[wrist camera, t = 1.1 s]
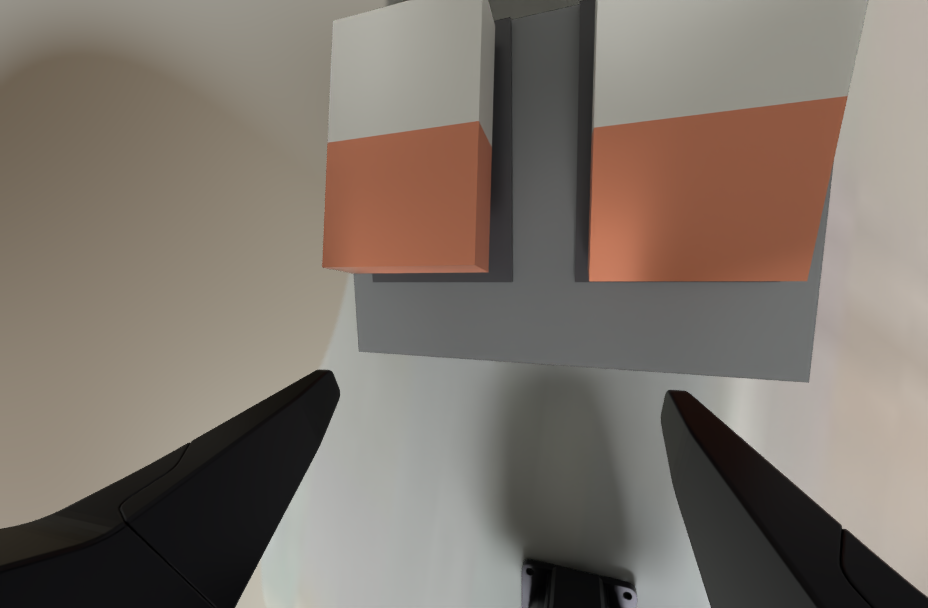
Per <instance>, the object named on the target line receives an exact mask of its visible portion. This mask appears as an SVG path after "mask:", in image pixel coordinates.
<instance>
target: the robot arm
mask: <svg viewBox="0 0 928 608" xmlns="http://www.w3.org/2000/svg"><path fill="white" fill-rule="evenodd" d="M339 398H340V389H339V387H338V384H337V382H336V379H335V377H334V374H333V372H332V371H330V370H316V371H314V372H312V373H311V374H309V375H307V376H305V377H304V378H302V379H300V380H298V381H297V382H295V383H293V384H291V385H289V386H288V387H286V388H284V389H283V390H281V391H279V392H277V393H275V394H274V395H272V396H270V397H268V398H267V399H265V400H263V401H261V402H259V403H258V404H256V405H254V406H252V407H251V408H249V409H247V410H245V411H244V412H242V413H240V414H238V415H237V416H235V417H233V418H231V419H230V420H228V421H226V422H225V423H223V424H221V425H219V426H217V427H215V428H214V429H212V430H210V431H209V432H207V433H205V434H203V435H201V436H200V437H198V438H196V439H194V440H193V441H192V442H191V443H187V444H185V445H184V446H182V447H180V448H178V449H177V450H175V451H173V452H171V453H169V454H168V455H166V456H164V457H162V458H161V459H159V460H157V461H155V462H153V463H151V464H150V465H148V466H146V467H144V468H142V469H140V470H138V471H136V472H134V473H132V474H131V475H129V476H127V477H125V478H123V479H121V480H119V481H117V482H115V483H113V484H111V485H109V486H107V487H105V488H103V489H101V490H99V491H97V492H95V493H93V494H91V495H89V496H87V497H85V498H84V499H81V500H80V501H78V502H76V503H74V504H72V505H70V506H68V507H66V508H64V509H62V510H60V511H58V512H55V513H53V514H51V515H49V516H46V517H44V518H41V519H38V520H35V521H32V522H29V523H26V524H21V525H18V526H13V527H8V528H2V529H0V608H235V607H236V605H237V603H238V601H239V599H240V597H241V595H242V593H243V591H244V589H245V587H246V586H247V584H248V581H249V580H250V578H251V576H252V574H253V572H254V570H255V569H256V567H257V564H258V563H259V561H260V559H261V557H262V555H263V553H264V551H265V550H266V548H267V546H268V544H269V542H270V540H271V538H272V536H273V534H274V532H275V530H276V529H277V527H278V525H279V523H280V521H281V519H282V517H283V515H284V513H285V511H286V510H287V508H288V506H289V504H290V502H291V500H292V498H293V496H294V494H295V492H296V491H297V489H298V487H299V485H300V483H301V481H302V479H303V477H304V475H305V473H306V471H307V470H308V468H309V466H310V464H311V462H312V460H313V458H314V456H315V454H316V452H317V450H318V448H319V446H320V444H321V442H322V440H323V437H324V435H325V433H326V430H327V428H328V425H329V423H330V420H331V418H332V415H333V413H334V411H335V408H336V406H337V403H338V401H339ZM661 426H662V431H663V436H664V442H665V447H666V452H667V457H668V463H669V468H670V473H671V478H672V483H673V487H674V491H675V494H676V498H677V501H678V504H679V508H680V511H681V514H682V517H683V520H684V523H685V527H686V530H687V533H688V536H689V539H690V542H691V546H692V549H693V552H694V555H695V558H696V561H697V565H698V568H699V571H700V574H701V577H702V580H703V583H704V587H705V590H706V593H707V596H708V599H709V602H710V606H711V608H928V597H927V596H925V595H924V594H923V593H922V592H920V591H919V590H918V589H917V588H915V587H914V586H913V585H912V584H910V583H909V582H908V581H907V580H906V579H904V578H903V577H902V576H901V575H900V574H899V573H897V572H896V571H895V570H894V569H893V568H891V567H890V566H889V565H888V564H887V563H885V562H884V561H883V560H882V559H881V558H879V557H878V556H877V555H876V554H875V553H874V552H872V551H871V550H870V549H869V548H868V547H867V546H865V545H864V544H863V543H862V542H861V541H860V540H858V539H857V538H856V537H855V536H854V535H853V534H852V533H850V532H849V531H848V530H846V529H842V525H841V524H840V523H839V522H837V521H836V520H835V519H834V518H833V517H832V516H831V515H829V514H828V513H827V512H826V511H825V510H824V509H822V508H821V507H820V506H819V505H818V504H817V503H816V502H814V501H813V500H812V499H811V498H810V497H809V496H807V495H806V494H805V493H804V492H803V491H802V490H801V489H799V488H798V487H797V486H796V485H795V484H794V483H793V482H791V481H790V480H789V479H788V478H787V477H786V476H784V475H783V474H782V473H781V472H780V471H779V470H778V469H776V468H775V467H774V466H773V465H772V464H771V463H769V462H768V461H767V460H766V459H765V458H764V457H763V456H761V455H760V454H759V453H758V452H757V451H756V450H754V449H753V448H752V447H751V446H750V445H749V444H748V443H746V442H745V441H744V440H743V439H742V438H741V437H739V436H738V435H737V434H736V433H735V432H734V431H733V430H731V429H730V428H729V427H728V426H727V425H726V424H724V423H723V422H722V421H721V420H720V419H719V418H718V417H716V416H715V415H714V414H713V413H712V412H711V411H710V410H708V409H707V408H706V407H705V406H704V405H703V404H701V403H700V402H699V401H698V400H697V399H696V398H695V397H693V396H692V395H691V394H690V393H688V392H687V391H679V390H668V391H667V392H666V394H665V398H664V403H663V407H662V412H661ZM528 568H531V569H532V570H529V569H528ZM624 592H629V594H626V593H624ZM522 608H637V594H636V589H635V587H634V586H633V585H632V584H631V583H628V582H625V581H621V580H616V579H612V578H608V577H604V576H599V575H595V574H591V573H587V572H582V571H578V570H574V569H570V568H565V567H561V566H557V565H553V564H548V563H544V562H540V561H536V560H531V559H527V560H525V561H524V562H523V565H522Z"/></svg>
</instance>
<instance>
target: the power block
mask: <svg viewBox="0 0 928 608" xmlns="http://www.w3.org/2000/svg"><path fill="white" fill-rule="evenodd" d="M595 1H596V0H583V1H580V4H578V5H574V6H569V7H565V8H561V9H556V10H552V11H547V12H543V13H539V14H534V15H530V16H525V17H521V18H517V19H512V20H511V18H510V17H509V18H505V19H500V20H496V21H494V23H495V52H494V89H493V126H492V162H491V199H490V235H489V272H472V273H362V274H354V285H355V301H356V316H357V332H358V347H359V352H372V353H387V354H401V355H416V356H430V357H445V358H459V359H474V360H489V361H503V362H518V363H532V364H547V365H561V366H576V367H590V368H605V369H620V370H634V371H649V372H663V373H678V374H692V375H707V376H721V377H736V378H751V379H765V380H780V381H794V382H809V377H810V368H811V359H812V350H813V341H814V332H815V323H816V314H817V305H818V297H819V288H820V279H821V270H822V261H823V252H824V243H825V234H826V225H827V216H828V207H829V198H830V189H831V180H832V171H833V165H832V170H831V174H830V179H829V184H828V188H827V193H826V197H825V202H824V206H823V211H822V216H821V220H820V225H819V229H818V234H817V238H816V243H815V248H814V252H813V257H812V261H811V266H810V271H809V275H808V280H807V281H589V276H588V245H589V210H590V175H591V140H592V105H593V71H594V36H595ZM833 162H834V161H833Z"/></svg>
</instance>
